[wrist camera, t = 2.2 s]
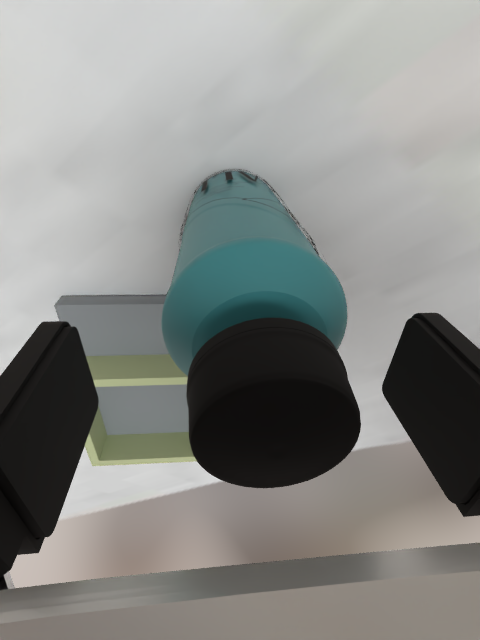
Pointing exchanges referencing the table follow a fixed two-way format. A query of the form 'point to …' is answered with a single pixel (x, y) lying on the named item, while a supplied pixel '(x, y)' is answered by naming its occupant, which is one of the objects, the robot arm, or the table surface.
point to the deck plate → (131, 380)
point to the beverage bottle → (258, 340)
